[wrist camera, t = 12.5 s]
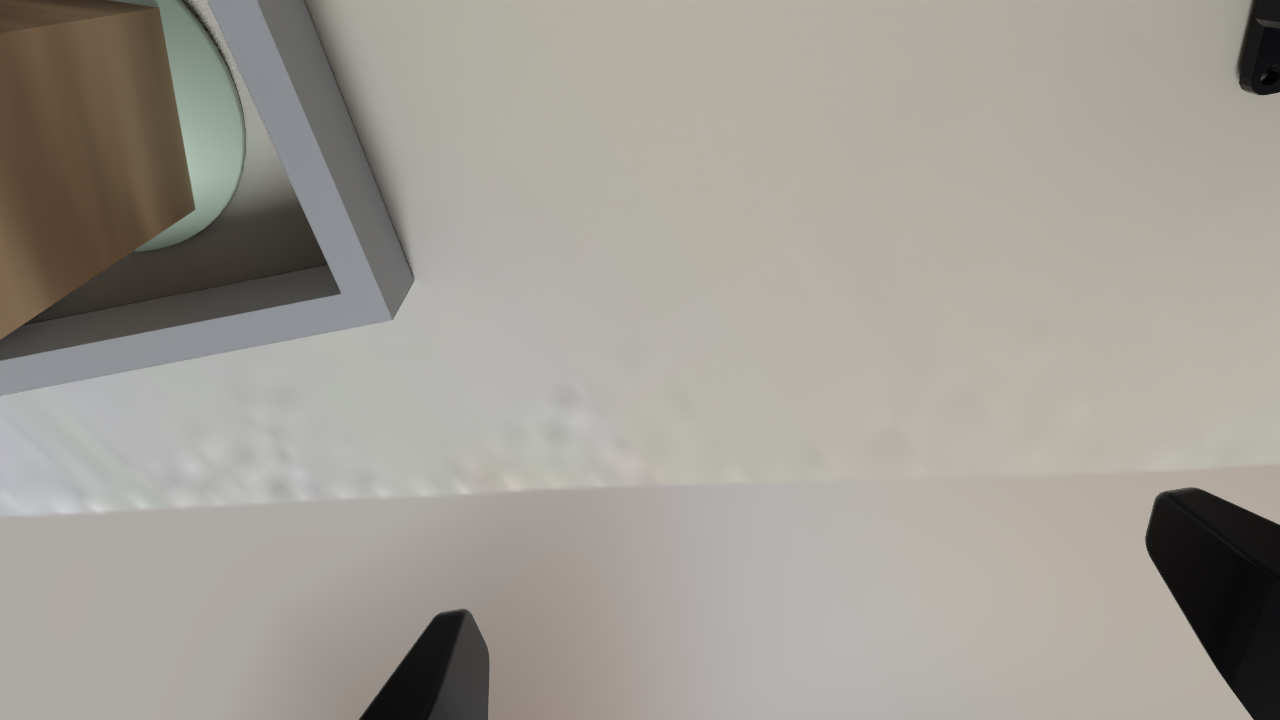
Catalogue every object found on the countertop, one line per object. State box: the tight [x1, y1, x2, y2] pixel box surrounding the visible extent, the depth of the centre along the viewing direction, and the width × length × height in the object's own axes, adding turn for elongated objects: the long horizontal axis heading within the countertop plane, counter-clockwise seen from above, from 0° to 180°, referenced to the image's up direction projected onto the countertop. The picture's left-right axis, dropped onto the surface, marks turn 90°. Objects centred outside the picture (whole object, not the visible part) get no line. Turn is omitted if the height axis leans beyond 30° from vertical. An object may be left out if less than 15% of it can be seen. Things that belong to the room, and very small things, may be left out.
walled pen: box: [0, 0, 414, 396], centre depth 17 cm, size 13×13×2 cm
